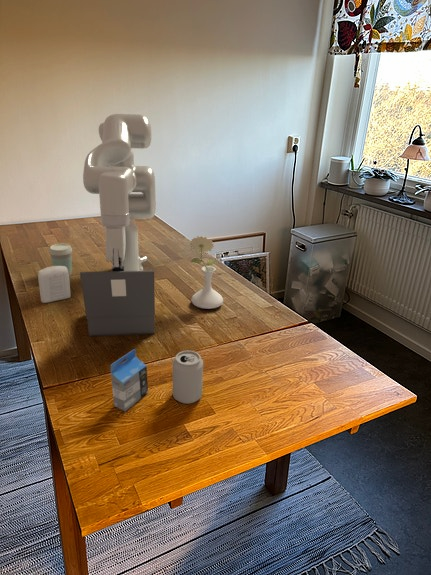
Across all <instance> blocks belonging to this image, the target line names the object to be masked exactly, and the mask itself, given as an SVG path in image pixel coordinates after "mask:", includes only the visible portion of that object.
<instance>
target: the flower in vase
mask: <svg viewBox="0 0 431 575" xmlns="http://www.w3.org/2000/svg"><path fill="white" fill-rule="evenodd" d="M189 245H190V247H191V248H192V249H193V250H194V251H196V252H199V253H200V258H198V257H195V258H192V259H191V260H190V261H189V262H190V263H195V264H200V263H202V264H203V265H204V266H202V267H201V269H200V270H201V271H202V273H203V275H204V285H203V288H201V289H200V290H198V291H196V292H195V293H194V294H193V295H192V296H191V298H190V299H191V300H190V301H191V303H192V304H193V305H194V306H195V307H197V308H200V309H211V310H212V309H216V308H219V307H220V306H222V304H223V303H224V299H223V296H222V295H221V294H220V293H219V292H217V291H216V290H215V289H213V287H212V279H213V278H212V277H213V274H214V273H215V271H216V270H217V269H216V267H215V266H212V265H213V264H215V262H216V260H217V259H216V258H215V259H212V260H211V259H210V260H208V261H207V262H206V264H205V262H204V261H203V253H205V252H206V253H208V252H210V251H212V249H213V248H214V246H215V245H214V243H213V240H212V239H210V238H207V236H196V237H193V239H191V240H190V242H189Z"/></svg>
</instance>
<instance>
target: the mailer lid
mask: <svg viewBox="0 0 431 575" xmlns="http://www.w3.org/2000/svg"><path fill="white" fill-rule="evenodd" d="M79 275H80V282H81V290H82V296H83V298H82V299H83V303H84V305H83V306H84V310H85V318H86V319H87V318H92V317H122V316H152V315H154V316H156V311H155V310H156V306H155V305H156V304H155V303H156V302H155V300H156V299H155V297H156V296H155V294H156V293H155V270H153V269H152V270H143V271H112V270H111V271H108V270H107V271H103V270H102V271H79Z"/></svg>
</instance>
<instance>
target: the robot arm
mask: <svg viewBox="0 0 431 575" xmlns="http://www.w3.org/2000/svg"><path fill="white" fill-rule="evenodd" d="M98 135H99V138H100V140H101V142H102V143H100V144H98V145H97V146H95V147H94V148H93V149H92V150H90V151H89V153H87V156H85V159H84V163H83V164H84V166H83V172H82V173H83V174H82V179H83V181H82V182H83V187H84V190H85V191H87V192H88V193H90V194H93V195H99V209H100V210H99V211H100V221H101V222H100V224H101V226H102V227H104V229H105V230H104V231H105V232H104V234H105V236H104V238H105V242H104V243H105V258H106V260H105V261H106V262H107V263H109V262H112V263H111V264H112V267H111V271H144V266H143V265H142V263H144V262H146V261H148V257H147V256H142V257H140V255H139V254H140V253H139V229H138V226H137V225H136V223H135V222H134V221H133V220H134V219H135V220H139V219H141V220H145V219H147V220H148V219H153V218H154V217H155V214H156V209H157V208H156V206H157V205H156V203H157V202H156V201H157V200H156V178H155V177H156V176H155V173H154V170H153V169H152V168H151V167H150V166H145V165H135V162H134V160H135V159H134V158H135V157H134V152H133V150H132V149H139V150H140V149H141V150H143V149H147V148H149V147H150V145H151V143H152V126H151V122H150V121H149V119H148V117H147V116H145V115H143V114H133V113H132V114H129V113H128V114H127V113H114V114H113V113H112V114H111V115H108V116H107V117H106V118H105V119H104V122H102V123H100V124H99V125H98Z"/></svg>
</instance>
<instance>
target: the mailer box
mask: <svg viewBox="0 0 431 575" xmlns="http://www.w3.org/2000/svg"><path fill="white" fill-rule="evenodd" d="M86 320H87V330H88V337H108V336H109V337H110V336H132V335H133V336H135V335H155V315H152V316H122V317H92V318H86Z"/></svg>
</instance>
